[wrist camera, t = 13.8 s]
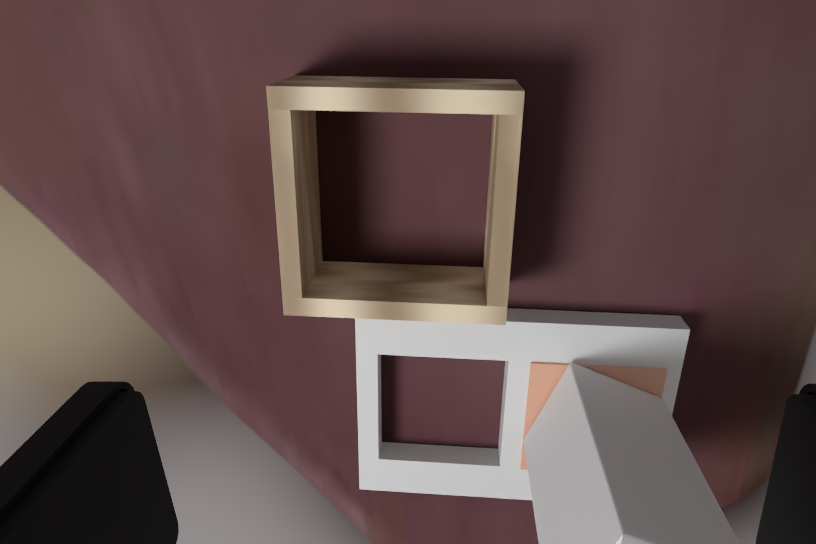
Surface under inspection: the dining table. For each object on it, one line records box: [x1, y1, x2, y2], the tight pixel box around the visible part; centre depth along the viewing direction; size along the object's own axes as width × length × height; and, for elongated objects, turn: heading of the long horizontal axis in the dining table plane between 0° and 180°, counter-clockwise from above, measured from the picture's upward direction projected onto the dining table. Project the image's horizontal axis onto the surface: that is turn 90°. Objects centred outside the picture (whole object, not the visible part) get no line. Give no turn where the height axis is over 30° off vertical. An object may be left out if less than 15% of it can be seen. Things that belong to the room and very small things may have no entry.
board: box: [355, 308, 690, 500], centre depth 45 cm, size 22×15×2 cm
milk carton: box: [524, 363, 739, 544], centre depth 34 cm, size 7×7×19 cm
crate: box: [266, 75, 525, 325], centre depth 37 cm, size 13×13×6 cm
